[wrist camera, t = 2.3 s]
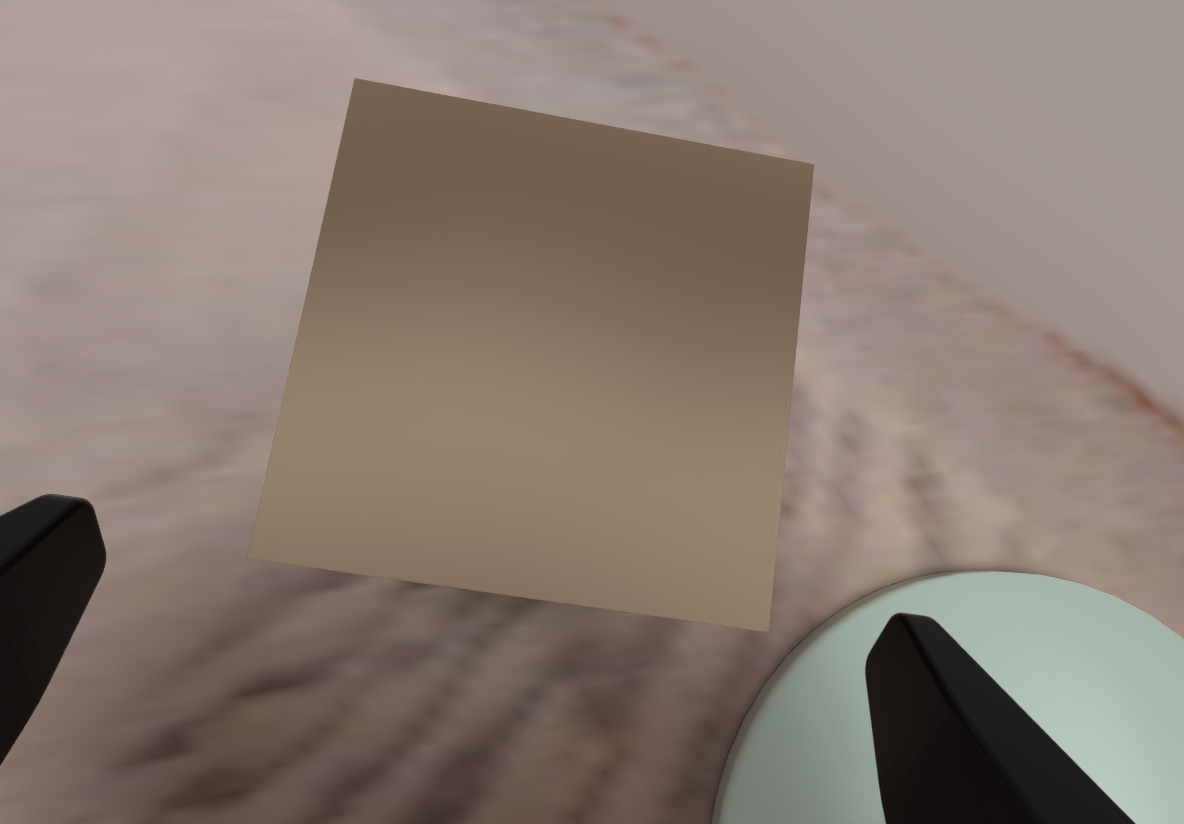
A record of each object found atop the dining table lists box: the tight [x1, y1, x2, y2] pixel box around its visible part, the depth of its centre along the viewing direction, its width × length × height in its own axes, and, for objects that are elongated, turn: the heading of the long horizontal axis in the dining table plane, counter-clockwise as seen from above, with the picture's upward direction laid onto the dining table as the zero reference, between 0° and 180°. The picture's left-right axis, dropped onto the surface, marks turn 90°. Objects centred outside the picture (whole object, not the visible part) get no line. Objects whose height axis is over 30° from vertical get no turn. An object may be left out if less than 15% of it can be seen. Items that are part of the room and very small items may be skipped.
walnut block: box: [247, 78, 814, 632], centre depth 13 cm, size 5×5×11 cm
